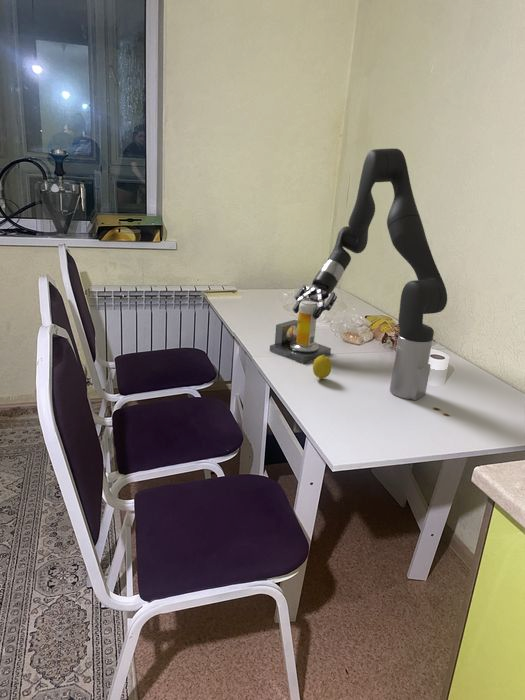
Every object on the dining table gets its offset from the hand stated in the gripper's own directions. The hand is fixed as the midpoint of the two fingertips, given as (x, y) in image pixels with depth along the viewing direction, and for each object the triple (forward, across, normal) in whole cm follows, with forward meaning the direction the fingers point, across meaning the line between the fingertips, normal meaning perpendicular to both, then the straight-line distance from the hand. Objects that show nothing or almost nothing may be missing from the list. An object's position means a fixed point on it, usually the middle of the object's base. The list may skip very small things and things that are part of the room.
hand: (304, 314), depth 164 cm
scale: (+9, -2, +11) cm, 14 cm away
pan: (+7, 0, +9) cm, 12 cm away
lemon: (+18, +18, +2) cm, 25 cm away
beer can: (+7, 0, +9) cm, 11 cm away
